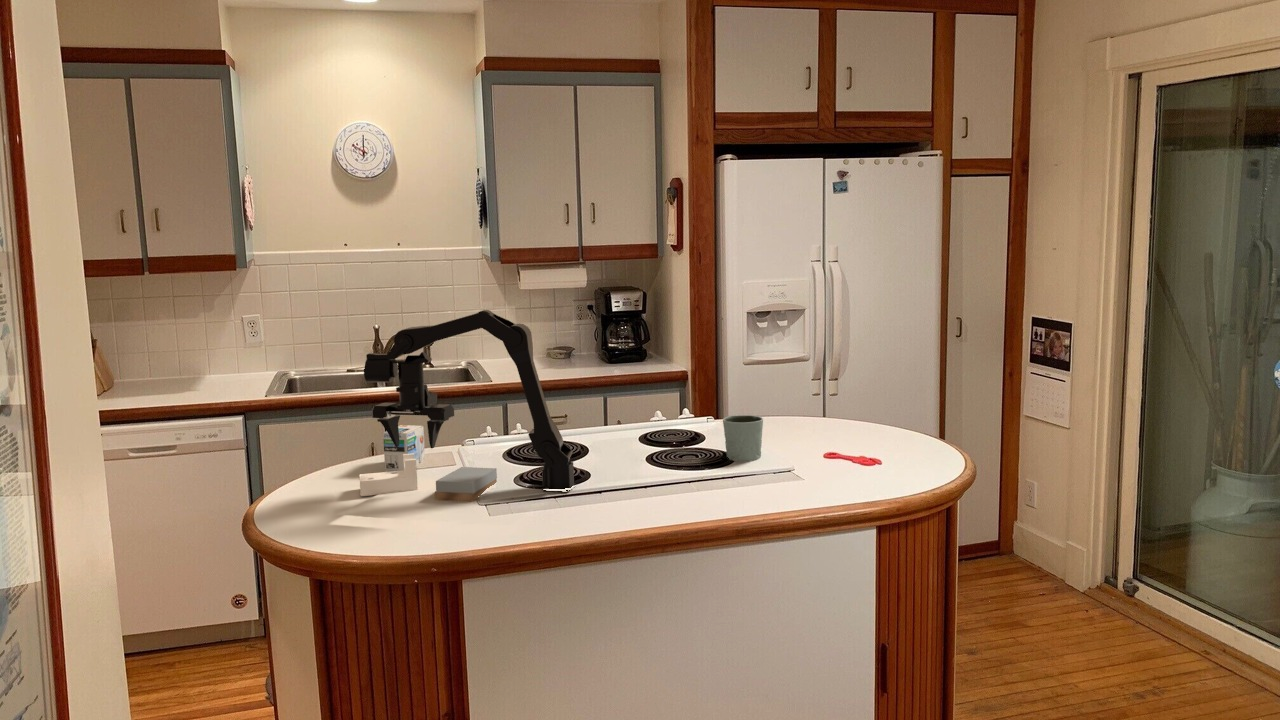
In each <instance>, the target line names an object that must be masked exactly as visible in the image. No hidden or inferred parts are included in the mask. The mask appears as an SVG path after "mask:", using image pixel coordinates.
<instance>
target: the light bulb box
mask: <svg viewBox="0 0 1280 720" xmlns="http://www.w3.org/2000/svg"><path fill="white" fill-rule="evenodd" d="M398 428H399V446H398V447H395V445H394V443H393V441H392V439H391V438H390V436H389V434H388V432H387V431H386V430H385V431H384V432H382V436H383V437H382V440H383V453H384V456H383V457H384V472H393V471H404V461H403V454H413V453H414V456H415V459H416V467H419V466H420V465H421V464H422V463H421V462H423V461H424V460H425V461H426V453H425V452H426V451H425V450H426V449H425V432H424V425H408V424H406V425H405V424H400V425H398ZM425 461H424V462H425ZM424 462H423V463H424ZM420 463H421V464H420ZM419 464H420V465H419ZM418 465H419V466H418Z"/></svg>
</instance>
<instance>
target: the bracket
mask: <svg viewBox="0 0 1280 720" xmlns="http://www.w3.org/2000/svg"><path fill="white" fill-rule="evenodd" d="M403 461H404V471H393V472H385V471H383V472H373V473H372V472H371V473H362V474H361V473H360V474H359V488H360V489H359V491H360V497H367V496H378V495H379V494H387V493H388V494H389V493H397V492H407V491H409V492H410V491H417V490H419V489H418V488H419V487H418V473H417V470H418V469H417V467H418V466H417V467H416V459H415V456H414V453H413V454H403Z"/></svg>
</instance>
